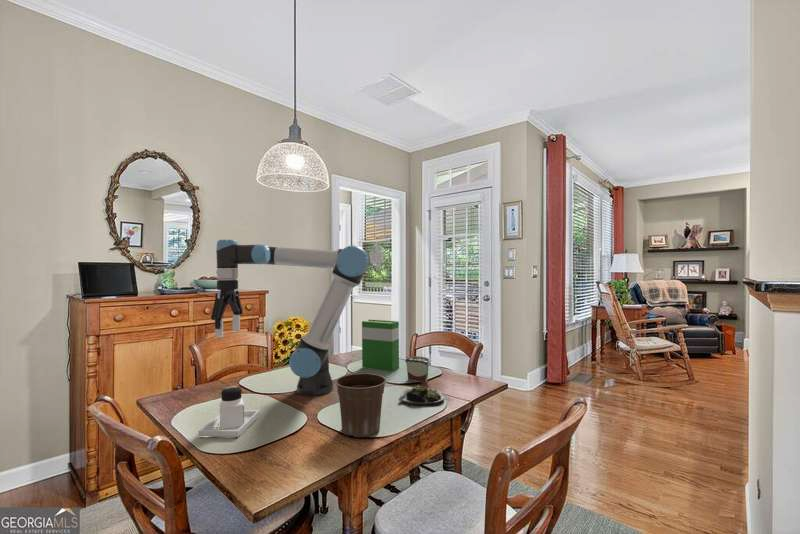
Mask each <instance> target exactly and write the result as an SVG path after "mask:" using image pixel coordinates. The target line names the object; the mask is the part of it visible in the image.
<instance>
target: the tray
mask: <svg viewBox="0 0 800 534" xmlns="http://www.w3.org/2000/svg"><path fill="white" fill-rule="evenodd" d="M259 416H260V417H261V410H259V409H258V410H257V409H255V410H254V409H251V410H249V409H247V410H246V409H244V424H243V425H242V426H241V427H236V428H230V429H224V430H220V427H216V429H215V427H213V426H214V425H215V424H216V423H218V422H219V421H220V413H219V414H218V415H217V416H216V417H215V418H213V419H212V420H210V421H209V422H208V423H206V424H205V425H204V426H203V427H202V428H200V429H199V430H198V431H197V432H198V436H209V437H210V436H211V437H239V436H240V435H241V434H242V433H243V432H244V431H245V430H246V429H247V428H248V427H249V426H250V425H251V424H252V423H253V422H254V421H255V420H256V419H257V418H258V417H259ZM260 417H259V418H260ZM259 418H258V419H259ZM258 419H257V420H258ZM257 420H256V421H257ZM256 421H255V422H256ZM255 422H254V423H255ZM254 423H253V424H254ZM253 424H252V425H253ZM252 425H251V426H252ZM218 426H219V424H218ZM251 426H250V427H251ZM250 427H249V428H250ZM213 428H214V429H213ZM218 428H219V429H218ZM249 428H248V429H249ZM248 429H247V430H248ZM247 430H246V431H247ZM246 431H245V432H246ZM245 432H244V433H245ZM244 433H243V434H244ZM243 434H242V435H243ZM242 435H241V436H242ZM198 436H197V437H198ZM241 436H240V437H241ZM240 437H239V438H240Z"/></svg>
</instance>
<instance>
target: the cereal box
mask: <svg viewBox="0 0 800 534" xmlns="http://www.w3.org/2000/svg"><path fill="white" fill-rule="evenodd" d="M399 325H400V323H399V321H397V320H396V321H395V320H382V319H368V320H367V321H365V320H363V321H361V352H362V353H361V356H362V357H361V360H362V362H361V367H364V369H369V368H371V369H370V370H378V371H383V372H385V371H386V372H394V371H396V370H398V369H399V368H400V328H399V327H400V326H399Z"/></svg>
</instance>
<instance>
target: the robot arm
mask: <svg viewBox="0 0 800 534" xmlns="http://www.w3.org/2000/svg"><path fill="white" fill-rule="evenodd" d="M215 253H216V279H217V280H216V290H218V291H220V292H216V293H215V299H214V303H213V308H212V311H211V314H210V319H211V320H212V321H214V338H215V339H216V338H224V319H223V316H224V314H225V310H226V308H227V306H228V305H229V307H230V310H231V311H232V313H233V314H232V321H231V322H232V332H241V315H243V311H244V309H243V307H242V302H241V298H240V292H239V290H238V289H239V280H238V279H239V267H238V266H239V265H272V266H273V265H275V266H289V267H304V268H319V269H331V270H332V269H333V270H332V271H331V274H332V277H333V278H332V281H331V282H330V285H329V287H328V289H327V292H326V294H325V296H324V297H323V299H322V302H321V303H320V306H319V307H318V308H319V309H318V310H317V312H316V315H315V317H314V319H313V321H312V323H311V325H310V327H309V329H308V332H307V333H306V334H304V335H302V336H301V337H300V340H299V342H298V344H297V346H296V348H295V350H293V352H292V353H291V354H290V357H289V362H288V365H289V368H290V370H291V372H292V373H293V374H294V375H296V376H297V377H299V378H298V382H297V384H296V392H297V394H299V395H301V396H307V397H309V396H310V397H311V396H312V397H314V396H322V395H326V394H329V393H331V392H332V391H333V390H334V382H333V379H332V377H331V373H330V366H329V365H330V360H329V359H330V355H329V354H330V353H329V350H330V342H329V341H330V339H331V337H332V335H333V332H334V330H335V328H336V326H337V324H338V322H339V319H340V317H341V316H342V313H343V310H344V309H345V307H346V304H347V302H348V301H349V298H350V297H351V294H352V291H353V289H354V288H355V287H357V286H359V285H360V284H361V282H362V280H363V278H364V276H365V274H366V272H367V270H368V269H369V267H370V265H371V258H370V255H369V253H368V251H366V250H365V249H364V248H362V247H361V246H358V245H348V246H346V247H344V248H337V250H327V249H326V250H325V249H312V248H311V249H309V248H293V247H279V246H277V247H276V246H268V245H266V244H258V243H257V244H239V243H238V240H237V239H219V240H217V242H216V250H215Z"/></svg>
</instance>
